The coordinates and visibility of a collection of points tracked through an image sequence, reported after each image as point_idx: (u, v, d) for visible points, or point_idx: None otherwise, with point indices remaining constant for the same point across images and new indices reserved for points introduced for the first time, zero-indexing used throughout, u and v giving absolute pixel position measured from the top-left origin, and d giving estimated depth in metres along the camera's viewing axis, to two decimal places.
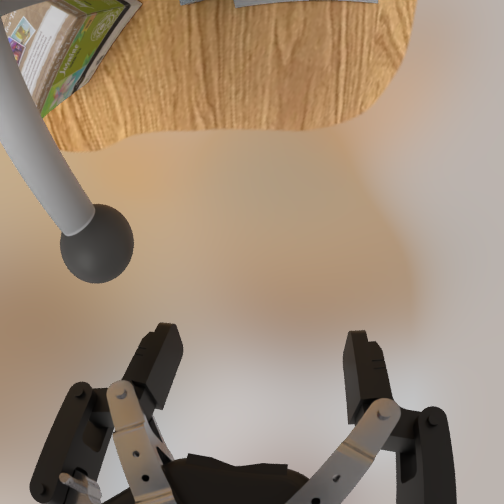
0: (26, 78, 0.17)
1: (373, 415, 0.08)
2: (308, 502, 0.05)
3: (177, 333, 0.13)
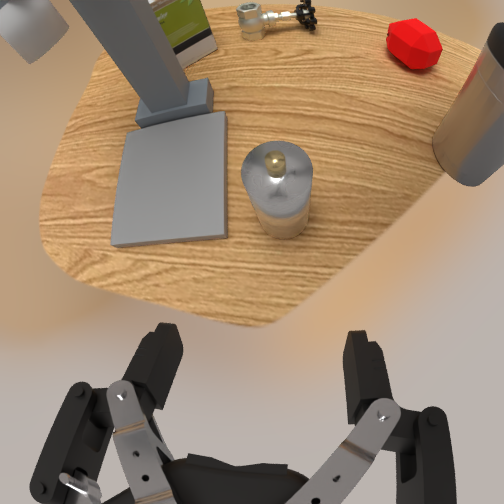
0: None
1: (373, 415, 0.08)
2: (308, 502, 0.05)
3: (177, 333, 0.13)
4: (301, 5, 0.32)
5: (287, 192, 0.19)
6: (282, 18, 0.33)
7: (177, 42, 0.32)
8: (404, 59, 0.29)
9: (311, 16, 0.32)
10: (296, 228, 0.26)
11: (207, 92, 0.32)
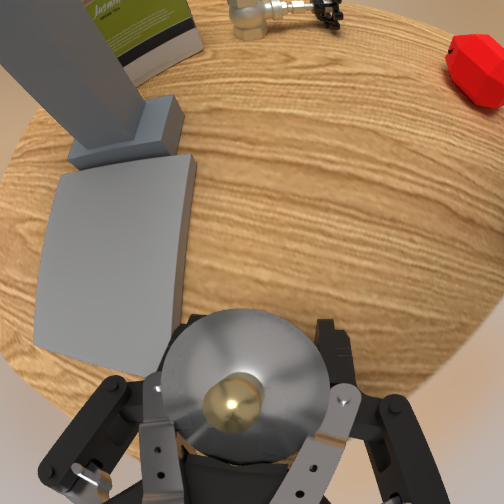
0: None
1: (333, 401, 0.08)
2: (292, 496, 0.05)
3: None
4: None
5: (259, 448, 0.07)
6: (292, 9, 0.22)
7: (141, 38, 0.20)
8: (472, 91, 0.18)
9: (335, 9, 0.21)
10: None
11: (168, 119, 0.20)
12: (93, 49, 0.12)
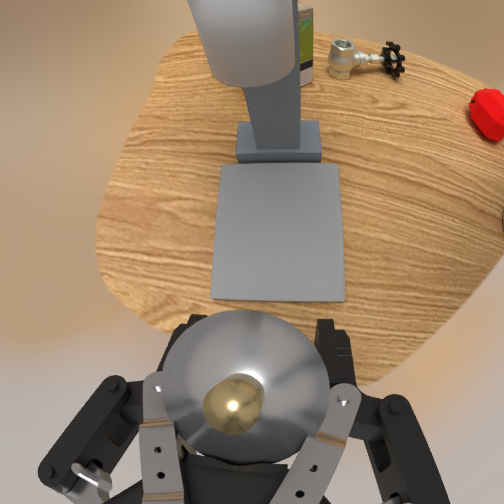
0: None
1: (333, 401, 0.08)
2: (292, 496, 0.05)
3: None
4: (387, 49, 0.33)
5: (259, 450, 0.07)
6: (371, 61, 0.34)
7: None
8: (485, 130, 0.29)
9: (399, 64, 0.32)
10: None
11: (319, 138, 0.32)
12: None
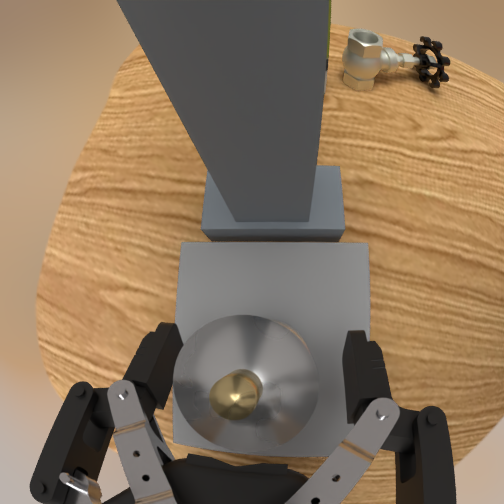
0: None
1: (372, 415, 0.08)
2: (308, 502, 0.05)
3: (178, 333, 0.13)
4: (422, 47, 0.21)
5: (258, 436, 0.08)
6: (403, 63, 0.22)
7: None
8: None
9: (441, 69, 0.20)
10: None
11: None
12: None
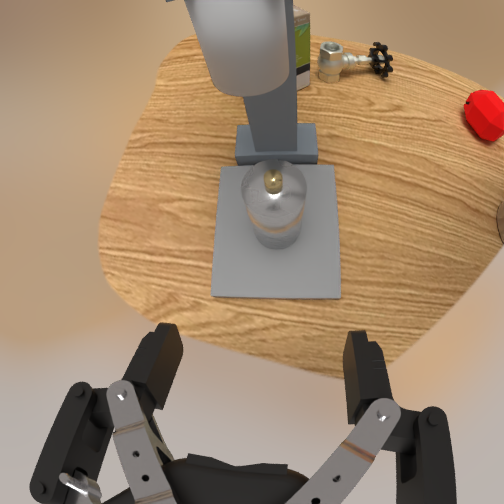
0: None
1: (373, 415, 0.08)
2: (308, 502, 0.05)
3: (177, 333, 0.13)
4: (374, 49, 0.34)
5: (281, 208, 0.22)
6: (359, 62, 0.35)
7: None
8: (479, 131, 0.31)
9: (387, 64, 0.34)
10: (287, 240, 0.29)
11: (316, 140, 0.33)
12: None
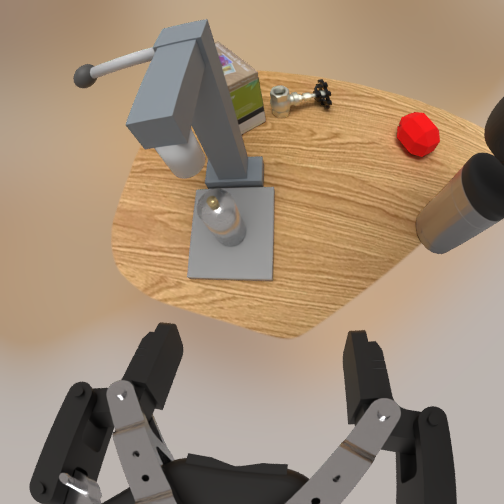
0: None
1: (373, 415, 0.08)
2: (308, 502, 0.05)
3: (177, 333, 0.13)
4: (318, 86, 0.50)
5: (216, 218, 0.37)
6: (304, 99, 0.51)
7: (238, 117, 0.49)
8: (408, 149, 0.46)
9: (327, 98, 0.50)
10: (232, 240, 0.44)
11: (262, 169, 0.48)
12: (240, 140, 0.41)
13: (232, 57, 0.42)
